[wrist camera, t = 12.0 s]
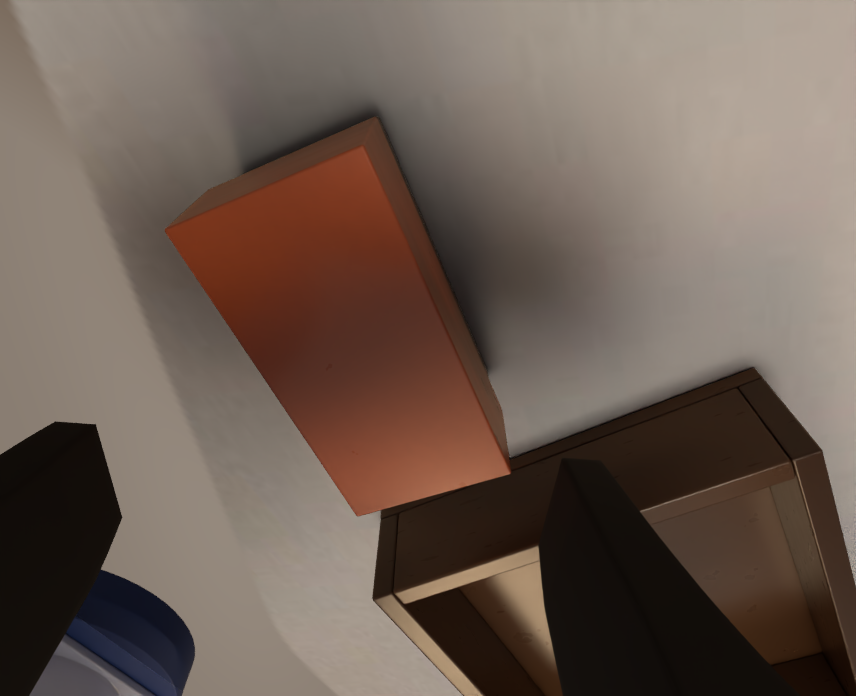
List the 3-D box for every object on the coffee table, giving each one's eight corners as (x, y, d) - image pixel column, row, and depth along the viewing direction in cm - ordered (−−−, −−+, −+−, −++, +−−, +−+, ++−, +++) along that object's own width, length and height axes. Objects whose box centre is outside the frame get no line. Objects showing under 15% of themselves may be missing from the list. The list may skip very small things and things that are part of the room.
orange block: (497, 375, 17) (512, 474, 14) (372, 415, 18) (356, 517, 14) (383, 101, 13) (363, 144, 10) (229, 169, 14) (162, 229, 10)
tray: (551, 714, 27) (565, 805, 24) (380, 507, 20) (371, 600, 17) (836, 644, 24) (894, 739, 21) (754, 366, 17) (823, 449, 14)
